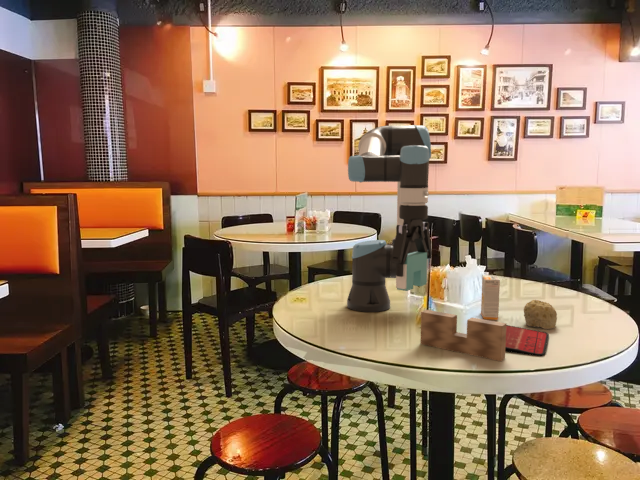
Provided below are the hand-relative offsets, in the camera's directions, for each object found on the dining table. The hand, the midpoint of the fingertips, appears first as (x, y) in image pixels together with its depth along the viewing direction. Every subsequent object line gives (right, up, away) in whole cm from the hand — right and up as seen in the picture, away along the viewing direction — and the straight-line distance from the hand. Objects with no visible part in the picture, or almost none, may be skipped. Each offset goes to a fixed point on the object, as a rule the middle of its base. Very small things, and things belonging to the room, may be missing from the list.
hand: (412, 284), depth 140 cm
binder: (+30, -17, +3) cm, 34 cm away
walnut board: (+12, -17, -5) cm, 21 cm away
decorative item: (+43, -14, +18) cm, 49 cm away
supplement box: (+30, -13, +28) cm, 43 cm away
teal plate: (0, -1, 0) cm, 1 cm away
